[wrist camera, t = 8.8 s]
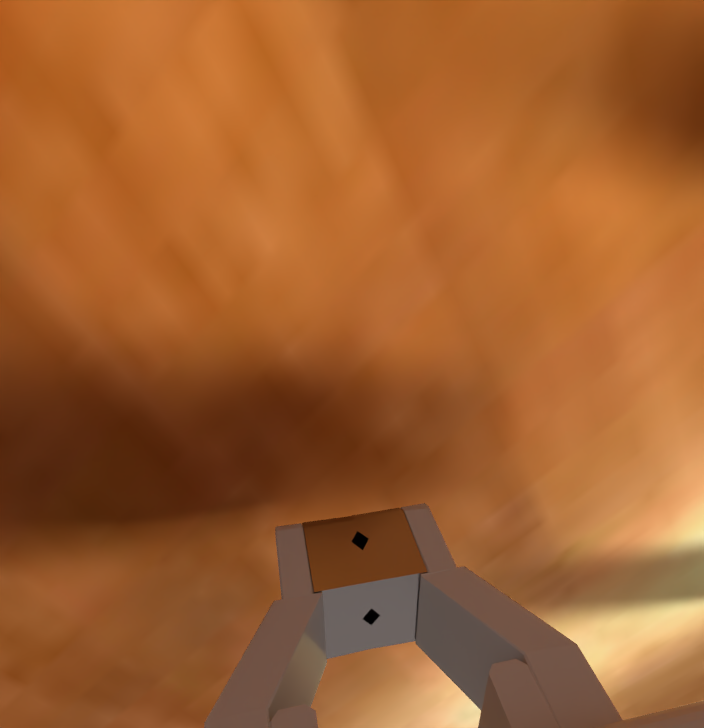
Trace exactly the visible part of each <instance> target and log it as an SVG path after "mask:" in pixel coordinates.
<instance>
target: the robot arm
mask: <svg viewBox="0 0 704 728" xmlns="http://www.w3.org/2000/svg"><path fill="white" fill-rule="evenodd" d="M275 535H276V545H277V555H278V566H279V576H280V586H281V596H282V599H281V600H276V601H274V602H273V603H272V605H271V607H270V609H269V610H268V612H267V614H266V616H265V617H264V619H263V621H262V623H261V624H260V626H259V628H258V630H257V631H256V633H255V635H254V637H253V638H252V640H251V642H250V644H249V646H248V647H247V649H246V651H245V653H244V654H243V656H242V658H241V660H240V661H239V663H238V665H237V667H236V668H235V670H234V672H233V674H232V675H231V677H230V679H229V681H228V682H227V684H226V686H225V688H224V689H223V691H222V693H221V695H220V696H219V698H218V700H217V702H216V703H215V705H214V707H213V709H212V711H211V712H210V714H209V716H208V718H207V719H206V721H205V724H204V728H318V724H317V717H316V711H315V710H314V709H312V708H310V707H311V704H312V702H313V699H314V696H315V693H316V691H317V688H318V685H319V682H320V680H321V677H322V674H323V672H324V669H325V666H326V663H327V659H329V658H333V657H337V656H342V655H346V654H350V653H354V652H359V651H363V650H367V649H372V648H378V647H384V646H390V645H395V644H401V643H407V642H413V641H416V644H417V645H418V646H419V647H420V648H421V649H422V650H423V651H424V652H425V653H426V654H427V656H428V657H429V658H430V659H431V660H432V661H433V662H434V663H435V664H436V665H437V666H438V667H439V668H440V669H441V670H442V671H443V672H444V673H445V674H446V675H447V676H448V677H449V678H450V679H451V680H452V681H453V682H454V683H455V684H456V685H457V686H458V687H459V688H460V689H461V690H462V691H463V692H464V693H465V694H466V695H467V696H468V697H469V698H470V699H471V700H472V701H473V702H474V703H475V704H476V705H477V707H478V708H479V709H480V710H481V716H480V721H479V726H478V728H704V701H700V702H696V703H692V704H688V705H683V706H679V707H675V708H671V709H667V710H663V711H659V712H655V713H651V714H647V715H643V716H638V717H634V718H630V719H626V720H622V718H621V716H620V715H619V713H618V712H617V710H616V708H615V707H614V705H613V703H612V702H611V700H610V698H609V697H608V695H607V693H606V692H605V690H604V688H603V687H602V685H601V683H600V682H599V680H598V679H597V677H596V675H595V674H594V672H593V670H592V669H591V667H590V665H589V664H588V662H587V660H586V659H585V657H584V655H583V654H582V652H581V650H580V649H579V647H578V645H577V644H576V643H574V642H573V641H571V640H570V639H569V638H567V637H566V636H564V635H563V634H561V633H560V632H558V631H557V630H556V629H554V628H553V627H551V626H550V625H548V624H547V623H545V622H544V621H543V620H541V619H540V618H538V617H537V616H535V615H534V614H532V613H531V612H530V611H528V610H527V609H525V608H524V607H522V606H521V605H519V604H518V603H516V602H515V601H514V600H512V599H511V598H509V597H508V596H506V595H505V594H503V593H502V592H501V591H499V590H498V589H496V588H495V587H493V586H492V585H490V584H489V583H488V582H486V581H485V580H483V579H482V578H480V577H479V576H477V575H476V574H474V573H473V572H472V571H470V570H469V569H467V568H466V567H458V568H457V566H456V564H455V562H454V560H453V558H452V556H451V554H450V551H449V549H448V547H447V545H446V543H445V541H444V539H443V536H442V534H441V532H440V530H439V528H438V526H437V523H436V521H435V519H434V517H433V515H432V513H431V511H430V508H429V506H427V505H426V504H425V503H424V504H418V505H412V506H406V507H401V508H394V509H388V510H382V511H376V512H370V513H364V514H358V515H352V516H348V517H341V518H333V519H326V520H318V521H311V522H303V523H302V524H301V523H300V524H292V525H284V526H277V527H276V530H275Z"/></svg>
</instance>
